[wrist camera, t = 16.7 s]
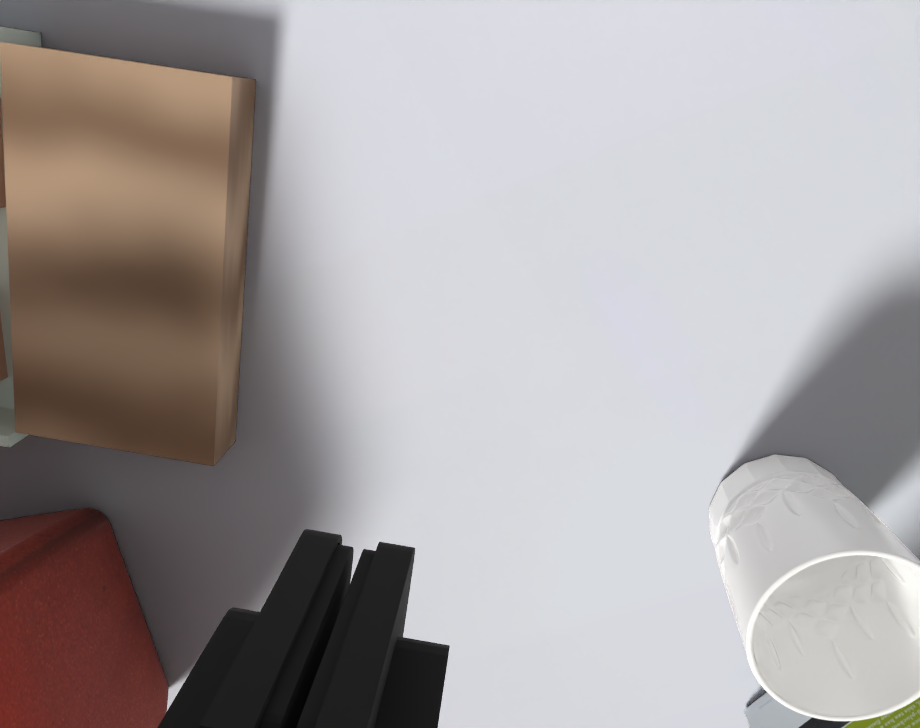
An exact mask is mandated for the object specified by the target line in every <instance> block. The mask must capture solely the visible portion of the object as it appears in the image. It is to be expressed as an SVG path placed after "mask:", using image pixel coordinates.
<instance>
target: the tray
mask: <svg viewBox="0 0 920 728" xmlns="http://www.w3.org/2000/svg"><path fill="white" fill-rule="evenodd" d="M0 42H5V43H13V44H21V45H29V46H37V47H41V33H38V32H32V31H25V30H19V29H12V28H5V27H0ZM0 98H1V118H2V138H3V115H2V90H1V65H0ZM3 159H4V139H3ZM4 179H5V164H4ZM5 199H6V189H5ZM0 313H1V322H2V331H3V339H4V348H5V356H6V365H7V374H8V378H6V379H4V380H2V381H0V446H3V447H9V448H10V447H11V446H13V445H14V444H16V443H17V442H19V441H20V440H22V439H23V438H25V437H26V436H28V434H22V433H16V432H15V411H14V386H13V361H12V337H11V312H10V287H9V263H8V238H7V213H6V207H3V208H0Z"/></svg>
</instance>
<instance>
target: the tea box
mask: <svg viewBox="0 0 920 728" xmlns="http://www.w3.org/2000/svg"><path fill="white" fill-rule="evenodd" d="M744 714H745V717H746V719H747V722H748V725H749V728H920V697H919V698H918V699H916V700H915V701H913V702H912V703H910V704H908V705H906V706H905V707H903V708H901V709H898V710H896V711H894V712H891V713H889V714H886V715H883V716H879V717H875V718H871V719H865V720H858V721H829V720H822V719H817V718H813V717H809V716H806V715H803V714H800V713H798V712H795V711H793V710H791V709H789V708H787V707H786V706H784V705H782V704H781V703H779V702H778V701H777V700H775V699H774V698H773V697H772V696H771V695H769V694H768V693H767V692H766V693H765V694H764V695H762V696H761V697H760V698H758V699H757V700H756V701H755V702H753V703H752V704H751V705H750V706H749V707H748V708H746V709H745V710H744Z"/></svg>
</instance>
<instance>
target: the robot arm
mask: <svg viewBox="0 0 920 728" xmlns="http://www.w3.org/2000/svg"><path fill="white" fill-rule="evenodd" d="M414 555H415V548H413V547H407V546H401V545H395V544H389V543H384V542H379V544H378V546H377V549H376V551H372V550H367V549H364V550H363V552H362V554H361V557H360V559H359V562H358V565H357V567H356V570H355V573H354V575H353V578H352V581H351V583H350V579H351V570H352V562H353V547H349V546H343V545H342V537H341V535H337V534H331V533H325V532H320V531H314V530H308V529H306V530H304V531H303V533H302V535H301V537H300V538H299V540H298V542H297V544H296V546H295V548H294V550H293V552H292V553H291V555H290V557H289V559H288V561H287V563H286V565H285V567H284V568H283V570H282V572H281V574H280V576H279V578H278V580H277V582H276V583H275V585H274V587H273V589H272V591H271V593H270V595H269V597H268V598H267V600H266V602H265V604H264V606H263V608H262V610H261V612H255V611H250V610H244V609H238V608H232V609H230V610H229V611H228V612H227V613H226V615H225V616H224V617H223V619H222V621H221V622H220V624H219V626H218V627H217V629H216V631H215V632H214V634H213V636H212V637H211V639H210V641H209V642H208V644H207V646H206V647H205V649H204V651H203V652H202V654H201V656H200V657H199V659H198V661H197V662H196V664H195V666H194V667H193V669H192V671H191V672H190V674H189V676H188V677H187V679H186V681H185V682H184V684H183V686H182V687H181V689H180V691H179V692H178V694H177V696H176V697H175V699H174V701H173V702H172V704H171V706H170V707H169V709H168V711H167V712H166V714H165V716H164V717H163V719H162V721H161V722H160V724H159V726H158V727H157V728H437V727H438V720H439V713H440V707H441V700H442V693H443V687H444V680H445V673H446V666H447V660H448V653H449V646H448V645H443V644H437V643H431V642H426V641H420V640H414V639H409V638H403V632H404V625H405V618H406V611H407V604H408V597H409V590H410V583H411V576H412V569H413V562H414Z"/></svg>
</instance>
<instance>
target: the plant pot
mask: <svg viewBox="0 0 920 728" xmlns="http://www.w3.org/2000/svg"><path fill="white" fill-rule="evenodd" d="M167 700H168V683H167V680H166V677H165V675H164V672H163V669H162V667H161V664H160V661H159V658H158V655H157V652H156V650H155V647H154V644H153V641H152V638H151V636H150V633H149V630H148V627H147V625H146V622H145V619H144V616H143V613H142V611H141V608H140V605H139V602H138V600H137V597H136V594H135V592H134V589H133V586H132V583H131V580H130V577H129V575H128V572H127V570H126V567H125V564H124V561H123V558H122V555H121V553H120V550H119V547H118V545H117V542H116V539H115V536H114V533H113V531H112V528H111V525H110V523H109V521H108V519H107V517H105V516H104V515H103V514H102V513H101V512H100V511H98V510H94V509H91V508H82V509H74V510H67V511H60V512H54V513H47V514H40V515H33V516H27V517H21V518H15V519H8V520H2V521H0V728H157V727H158V726H159V724H160V722H161V721H162V719H163V717H164V716H165V714H166V711H167Z"/></svg>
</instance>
